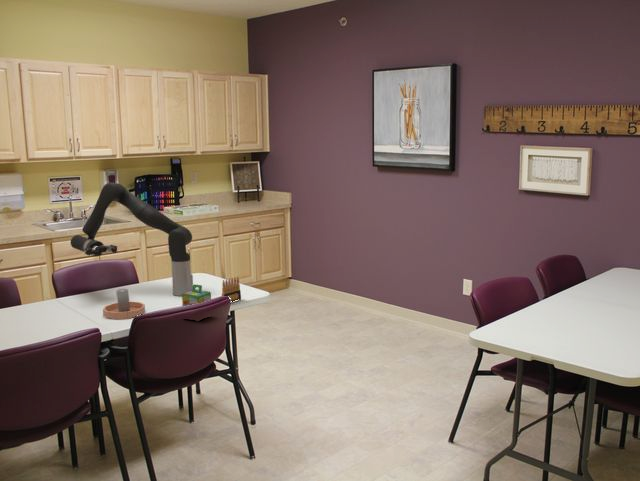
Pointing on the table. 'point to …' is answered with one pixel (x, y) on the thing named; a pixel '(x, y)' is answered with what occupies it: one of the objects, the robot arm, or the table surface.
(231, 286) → the ammunition clip
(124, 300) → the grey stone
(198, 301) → the chalk box
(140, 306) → the terracotta bowl
